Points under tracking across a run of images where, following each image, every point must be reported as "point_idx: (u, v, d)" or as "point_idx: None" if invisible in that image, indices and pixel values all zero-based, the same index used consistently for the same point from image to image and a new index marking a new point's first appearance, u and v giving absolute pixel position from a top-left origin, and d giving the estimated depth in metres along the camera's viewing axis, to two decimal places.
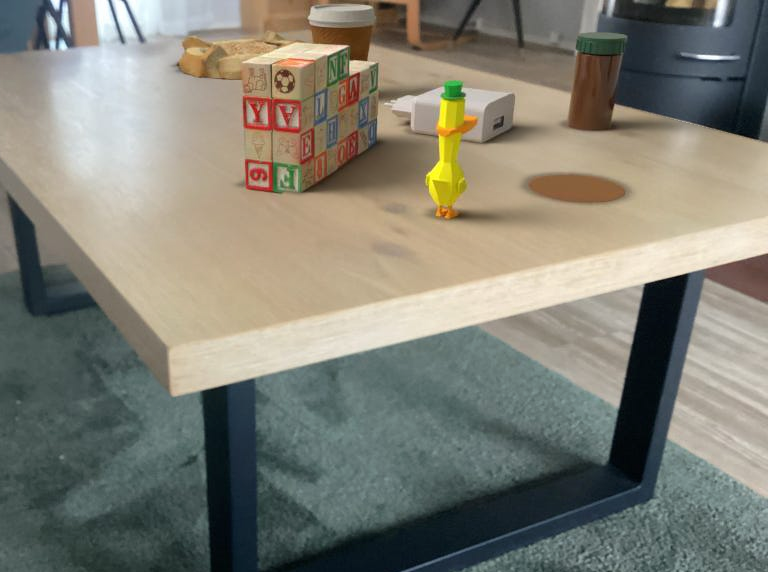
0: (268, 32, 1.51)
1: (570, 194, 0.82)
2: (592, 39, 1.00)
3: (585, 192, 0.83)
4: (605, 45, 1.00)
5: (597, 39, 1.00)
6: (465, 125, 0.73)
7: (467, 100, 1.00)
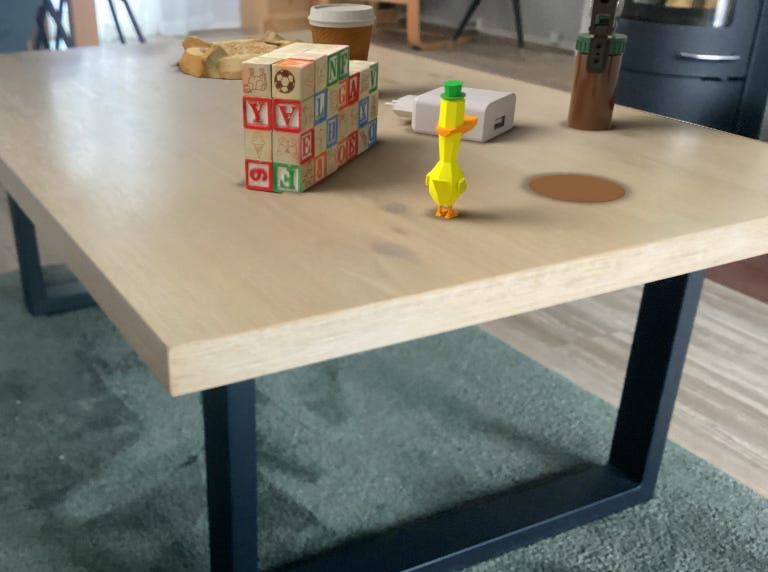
0: (268, 32, 1.51)
1: (570, 194, 0.82)
2: None
3: (585, 192, 0.83)
4: None
5: None
6: (465, 125, 0.73)
7: (468, 100, 1.00)
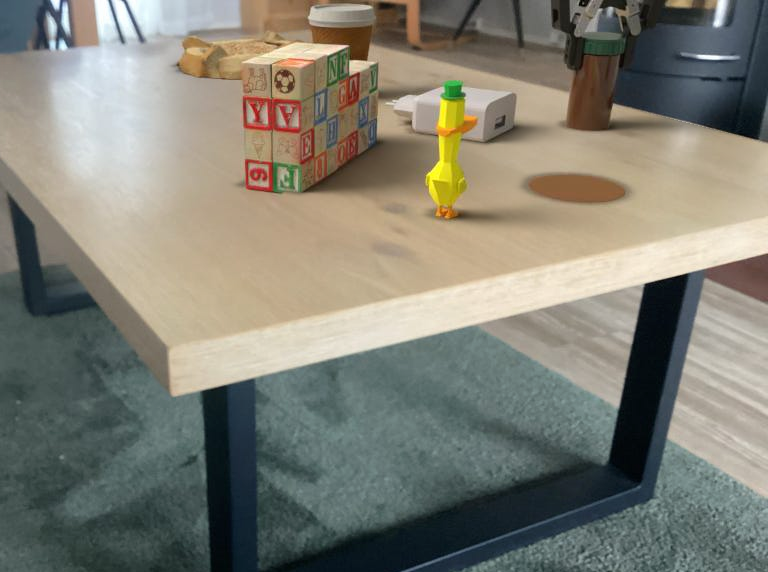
0: (268, 32, 1.51)
1: (570, 194, 0.82)
2: None
3: (585, 192, 0.83)
4: None
5: (624, 36, 1.02)
6: (465, 125, 0.73)
7: (468, 99, 1.00)
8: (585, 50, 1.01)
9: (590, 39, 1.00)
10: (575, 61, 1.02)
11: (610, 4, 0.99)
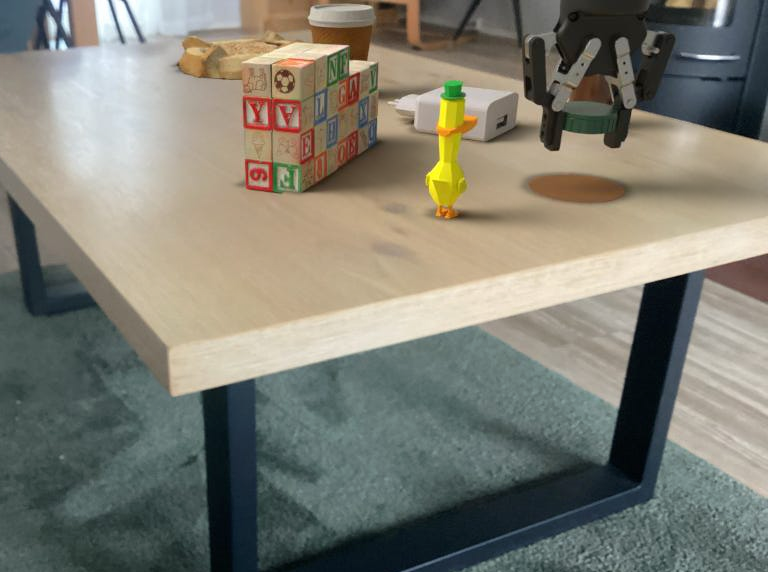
0: (268, 32, 1.51)
1: (570, 194, 0.82)
2: (617, 111, 0.80)
3: (585, 192, 0.83)
4: None
5: None
6: (465, 125, 0.73)
7: (470, 99, 1.00)
8: (566, 127, 0.80)
9: (572, 114, 0.79)
10: (554, 140, 0.81)
11: (597, 71, 0.78)
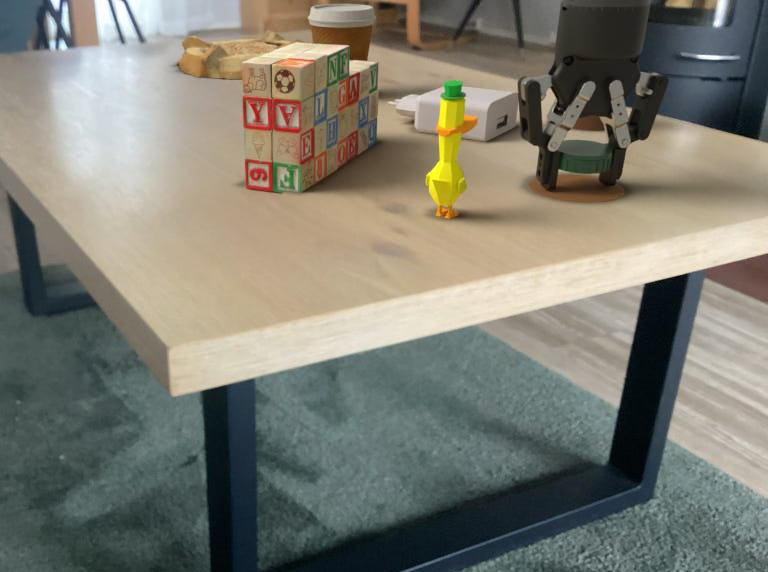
0: (268, 32, 1.51)
1: (570, 194, 0.82)
2: (612, 150, 0.82)
3: (585, 192, 0.83)
4: None
5: None
6: (465, 125, 0.73)
7: (471, 99, 1.00)
8: (562, 167, 0.82)
9: (568, 154, 0.81)
10: (550, 179, 0.82)
11: (592, 112, 0.80)
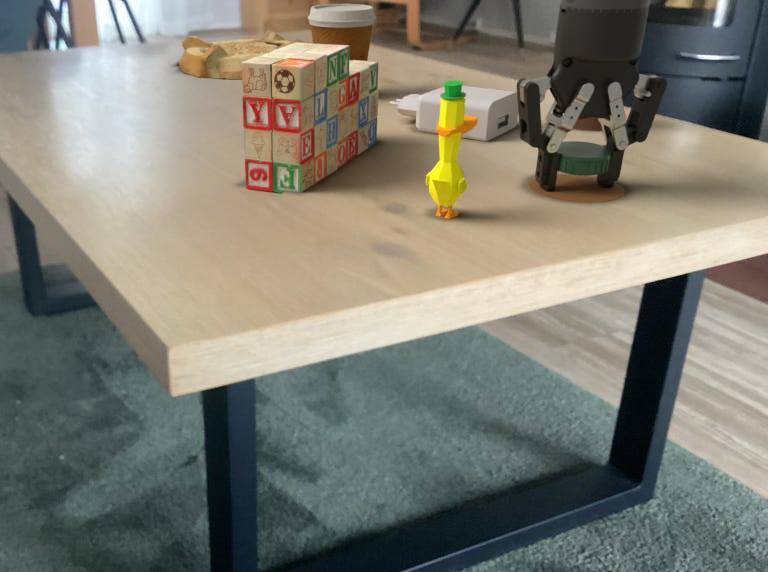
0: (268, 32, 1.51)
1: (570, 194, 0.82)
2: (611, 152, 0.82)
3: (585, 192, 0.83)
4: None
5: (609, 150, 0.83)
6: (465, 125, 0.73)
7: (472, 98, 1.00)
8: (560, 168, 0.82)
9: (566, 156, 0.81)
10: (549, 181, 0.83)
11: (591, 114, 0.80)
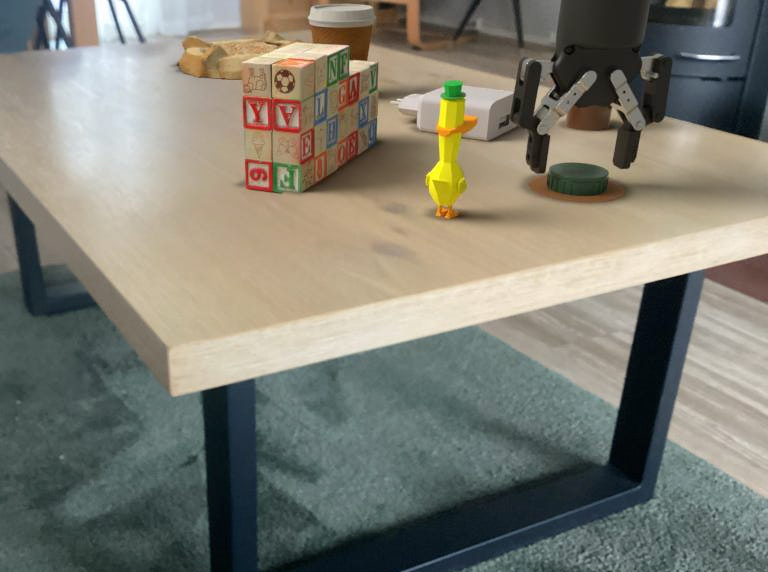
0: (268, 32, 1.51)
1: None
2: None
3: None
4: None
5: (606, 170, 0.84)
6: (465, 125, 0.73)
7: (473, 98, 1.00)
8: (558, 189, 0.83)
9: (564, 176, 0.82)
10: (539, 163, 0.81)
11: (593, 102, 0.79)
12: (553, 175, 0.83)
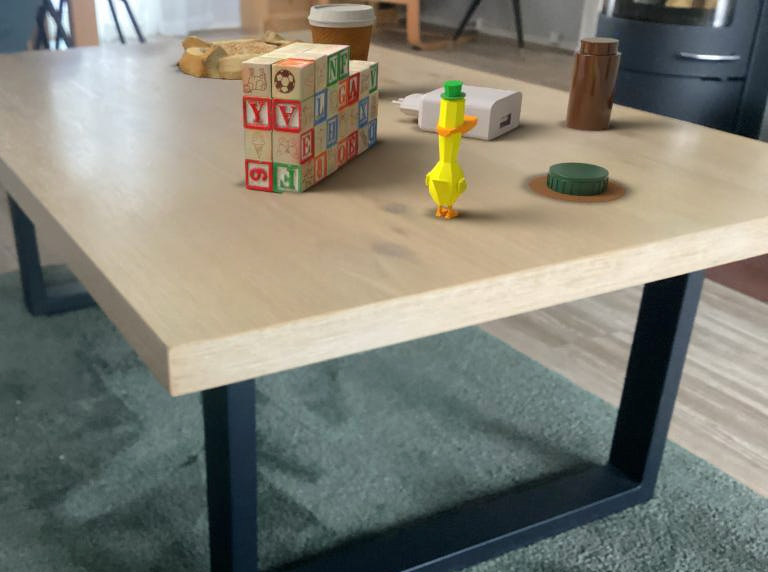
0: (268, 32, 1.51)
1: None
2: None
3: None
4: None
5: (606, 170, 0.84)
6: (465, 125, 0.73)
7: (474, 98, 1.01)
8: (558, 189, 0.83)
9: (564, 176, 0.82)
10: None
11: None
12: (553, 175, 0.83)
